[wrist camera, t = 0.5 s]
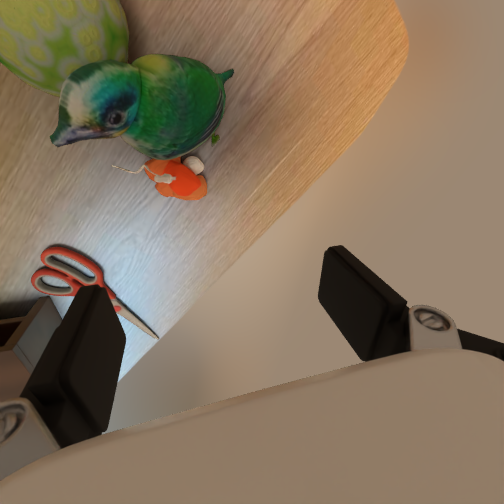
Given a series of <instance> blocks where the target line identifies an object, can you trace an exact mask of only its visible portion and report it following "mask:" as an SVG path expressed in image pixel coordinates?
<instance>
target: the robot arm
mask: <svg viewBox="0 0 504 504" xmlns="http://www.w3.org/2000/svg"><path fill="white" fill-rule="evenodd" d="M318 299H319V302H320V303H321V305H322V306H323V307H324V309H325V310H326V312H327V313H328V314H329V316H330V317H331V319H332V320H333V321H334V323H335V324H336V326H337V327H338V328H339V330H340V331H341V333H342V334H343V336H344V337H345V338H346V340H347V341H348V343H349V344H350V345H351V347H352V348H353V349H354V351H355V352H356V353H357V355H358V357H359V358H360V359H361V360H362V361H365V362H363V363H359V364H356V365H352V366H348V367H344V368H341V369H337V370H333V371H330V372H326V373H322V374H318V375H314V376H310V377H307V378H303V379H299V380H296V381H292V382H288V383H285V384H281V385H277V386H274V387H270V388H266V389H263V390H259V391H255V392H252V393H248V394H244V395H241V396H237V397H233V398H230V399H226V400H223V401H219V402H215V403H212V404H208V405H204V406H201V407H197V408H194V409H190V410H186V411H183V412H179V413H176V414H172V415H168V416H165V417H162V418H158V419H154V420H150V421H147V422H144V423H140V424H137V425H134V426H130V427H127V428H123V429H120V430H117V431H113V432H110V433H106V434H103V435H101V434H102V432H105V431H106V430H107V428H108V424H109V420H110V414H111V410H112V405H113V401H114V396H115V391H116V387H117V382H118V377H119V372H120V368H121V363H122V358H123V353H124V349H125V344H126V336H125V333H124V330H123V328H122V325H121V323H120V321H119V318H118V316H117V314H116V311H115V309H114V306H113V304H112V302H111V299H110V297H109V295H108V292H107V290H106V288H105V287H100V285H99V284H94V285H88V286H82V287H80V288H79V290H78V291H77V293H76V295H75V297H74V299H73V301H72V303H71V305H70V307H69V309H68V311H67V312H66V314H65V316H64V318H63V320H62V322H61V324H60V326H58V327H57V328H56V329H55V331H54V333H53V335H52V336H51V338H50V340H49V342H48V344H47V346H46V348H45V349H44V351H43V353H42V355H41V357H40V359H39V361H38V363H37V364H36V366H35V368H34V370H33V372H32V374H31V376H30V378H29V379H28V381H27V383H26V385H25V387H24V389H23V391H22V393H21V394H20V396H19V397H18V398H12V399H8V400H6V401H3V402H0V504H504V343H501V342H497V341H494V340H491V339H488V338H485V337H482V336H478V335H475V334H472V333H469V332H466V331H462V330H459V329H457V328H456V325H455V323H454V321H453V320H452V319H451V317H449V316H448V315H447V314H446V313H444V312H443V311H441V310H439V309H437V308H434V307H431V306H427V305H416V306H412V307H411V308H409V307H407V306H406V304H407V301H406V300H405V299H404V298H403V297H401V296H400V295H399V294H398V293H397V292H396V291H394V290H393V289H392V288H391V287H390V286H389V285H388V284H386V283H385V282H384V281H383V280H382V279H381V278H379V277H378V276H377V275H376V274H375V273H374V272H372V271H371V270H370V269H369V268H368V267H367V266H365V265H364V264H363V263H362V262H361V261H359V259H357V258H356V257H355V256H354V255H353V254H351V252H349V251H348V250H347V249H346V248H345V247H344V246H342V245H339V246H332V247H329V248H328V249H327V251H325V253H324V259H323V265H322V272H321V278H320V286H319V292H318Z"/></svg>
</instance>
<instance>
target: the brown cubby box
mask: <svg viewBox="0 0 504 504" xmlns="http://www.w3.org/2000/svg"><path fill="white" fill-rule="evenodd" d="M61 322H62V319H61V317H60V315H59V313H58V311H57V309H56V308H55V306H54V304H53V302H52V300H51V298H50V297H49V296H46V297H40V298H39V299H38V300H37V302H36V303H35V304H34V306H33V307H32V308H31V310H30V311H29V313H28V314H27V315H26V316H23V317H17V318H10V319H4V320H0V402H3V401H6V400H8V399H12V398H18V397H19V396H20V394H21V393H22V391H23V389H24V387H25V385H26V383H27V381H28V379H29V378H30V376H31V374H32V372H33V370H34V368H35V366H36V364H37V363H38V361H39V359H40V357H41V355H42V353H43V351H44V349H45V348H46V346H47V344H48V342H49V340H50V338H51V336H52V335H53V333H54V331H55V329H56V328H57V327H58V326H60V324H61Z"/></svg>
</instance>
